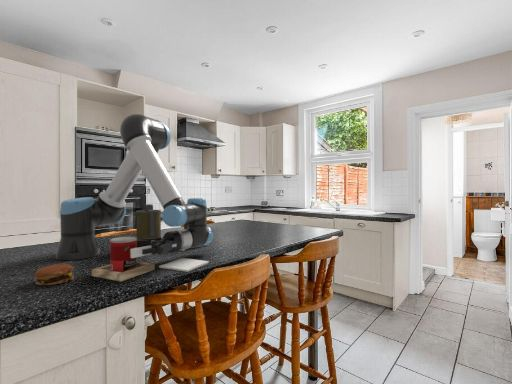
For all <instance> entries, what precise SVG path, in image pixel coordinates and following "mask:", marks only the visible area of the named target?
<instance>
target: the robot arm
mask: <svg viewBox="0 0 512 384" xmlns="http://www.w3.org/2000/svg"><path fill="white" fill-rule="evenodd" d="M119 127H120V128H119V132H120V133H119V134H120V138H121V141H122V143H123V145H124V146H125V148H126V150H127V151H128V152H127V154H126V155H125V157H124V159H123V161H122V162H121V164H120V166H119V167H118V169H117V170H116V172H115V174H114V176H113V178H112V180H111V181H110V183H109V185H108V186H107V188H106V190H104V191H101V192H100V193H99V194H98V196H97V198H96V199H95V198H94V197H90V196H87V197H85V196H84V197H76V198H68V199H65V200H63V201H62V202H61V203H60V207H59V208H60V210H59V214H60V215H59V217H60V239H59V241H58V245H57V248H56V251H55V259H56V260H60V261H75V260H81V259H88V258H93V257H97V256H99V255H100V252H101V249H100V246H99V244H98V243H99V242H98V241H97V238H96V236H95V235H96V234H95V233H96V232H95V228H98V227H99V228H100V227H105V226H106V227H107V226H113V225H115V224H119V223H121V222H122V221H123V220H124V218H125V216H126V214H127V211H126V209H127V207H126V206H127V202H126V201H125V200H126V198H127V197H128V195H129V193H130V192H131V190H132V188H133V187H134V185H135V183H136V182H137V180H138V178H139V177H140V175H141V174H142V173H143V175H144V176H145V178H146V180H147V182H148V184H149V185H150V187H151V189H152V190H153V192H154V194H155V195H156V198H157V200H158V201H159V204H160V205H161V207H162V208H163V210H162V212H161V215H162V221H163V222H164V224H165V225H166V226H168V227H171V228H175V227H177V228H178V227H182V226H184V225H185V224H188V229H184V228H183V229H179V230H170V231H167V232H165V233H164V235H163V236H161V237H157V238H156V237H154V238H145V239H137V248H133V249H130V254H131V258H135V257H137V258H139V257H145V256H149V255H156V254H157V255H158V256H159V255H163V254H165V253H174V252H178V251H182V252H185V250H187V249H194V248H193V247H197V248H200V247H199V246H204V245H206V246H207V245H209V244H211V242H212V241H213V238H214V233H213V232H212V231H213V230H212V229H211V227H210V226H207V222H208V220H207V214H208V213H207V212H208V211H207V208H208V206H207V199H206V198H203V197H190V198H188V199H187V201H186V202H185V201H184V199H183V197H182V196H181V194H180V191H178V189H177V187H176V185H175V184H174V182H173V180H172V178H171V176H170V174H169V173H168V171H167V169H166V167H165V166H164V164H163V162H162V160H161V157H159V155H158V153H159V151H160V150H163V149H166V148H167V147H168V146H169V144H170V142H171V139H172V137H171V136H172V135H171V131H170V129H169V127H168V126H167V125H166V123H164V122H162V121H160V120H158V119H154V118H151V117H148V116H146V115H143V114H140V113H133V114H130V115H128V116H126V117H125V118H124V119H123V120H122V121H121V125H120V126H119ZM151 245H152V246H151ZM204 247H205V246H204Z"/></svg>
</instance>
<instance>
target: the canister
mask: <svg viewBox="0 0 512 384" xmlns="http://www.w3.org/2000/svg"><path fill="white" fill-rule="evenodd" d="M135 215H136V238H137V239H145V238H154V237H156V238H157V237H161V238H162V235H161V234H162V227H161V225H162V222H161V220H162V216H161V215H162V210H161V209H154V205H153V204H151V203H149V204H146V203H145V204H144V206H143V209H139V210H135ZM151 246H152V245H151Z"/></svg>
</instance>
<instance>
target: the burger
mask: <svg viewBox="0 0 512 384" xmlns="http://www.w3.org/2000/svg"><path fill="white" fill-rule="evenodd" d="M73 270H75V268H74V266H73V265H70V264H67V263H66V264H64V263H63V264H54V265H53V264H52V265H47V266H43V267H40V268H39V269H37V270H36V271H35V273H34V279H35V280H36V281H35V285H37V286H53V285H54V286H55V285H59V284H62V283H68V281H74V279H75V277H74V274H73V272H72V271H73Z"/></svg>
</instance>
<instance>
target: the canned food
mask: <svg viewBox="0 0 512 384" xmlns="http://www.w3.org/2000/svg"><path fill="white" fill-rule="evenodd" d="M109 242H110V243H109V257H110V259H109V261H110V263H109V265H110V267H111V271H115V272H121V273H122V272H125V271H128V270H131V269H135V268H137V261H138V257H135V258H131V254H130V249H133V248H137V236H120V237H113V238H111V239H110V241H109Z"/></svg>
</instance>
